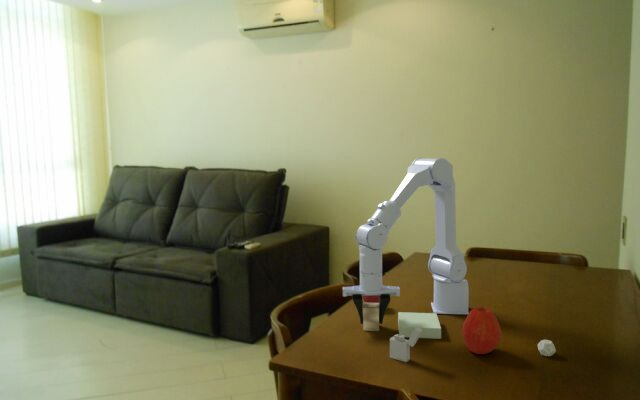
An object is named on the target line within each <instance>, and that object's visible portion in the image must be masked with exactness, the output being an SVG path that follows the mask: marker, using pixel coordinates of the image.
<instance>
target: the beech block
mask: <svg viewBox="0 0 640 400" xmlns="http://www.w3.org/2000/svg"><path fill="white" fill-rule="evenodd" d="M379 308H380V306H379V303H365V302H363V324H362V328H363V329H362V331H365V332H367V331H368V332H369V331H370V332H380V323H379Z"/></svg>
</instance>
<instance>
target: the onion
mask: <svg viewBox="0 0 640 400" xmlns="http://www.w3.org/2000/svg"><path fill="white" fill-rule="evenodd" d="M362 300H363V302H364V303H379V295H370V296H362Z"/></svg>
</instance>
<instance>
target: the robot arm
mask: <svg viewBox="0 0 640 400" xmlns="http://www.w3.org/2000/svg"><path fill="white" fill-rule="evenodd" d="M453 170H454V169H453V164H452V163H451V162H449V161H448V159H446V158H444V157H438V158H423V157H417V158H415V159H414V160H413V161H412V163H411V164H410V165H409V166H408V167H407V172H406V174H405V177H404V178H403V179H402V181H401V183H400V184H399V186H398V187H397V188H396V190H395V192H394V193H393V195H392V196H391V198H390V199H389V200H385V201H382V203H378V205H377V209H376V210H375V212H374V213H373V214H372V215H371V217H370V218H368V219H367V221H366V223H363V224H362V225H360V226H359V227H358V229H357V230H356V234H354V240H355V242H356V244H357V245H358V251H359V285H353V286H342V297H348V296H349V297H350V296H351V297H352V301H353V304H354V305H355V306H354V307H356V310H357V313H358V316H359V322H360V324H362V325H363V304H364V300H363V296H370V295H379V325H382V324H383V321H384V317H385V314H386V311H387V308H388V307H389V304H390V303H391V296H395V297H400V296H401V289H400V286H392V285H383V247H384V246H385V245H386V244H387V240H388V235H389V233H390V230H391V229H392V228H393V226H394V225H395V224H396V222H398V220H399V219H400V217H401V215H402V211H401V208H402V207H403V206H404V205H405V204H406V202H407V201H408V200H409V199H410V198H411V197H412V195H414V193H415V192H416V191H417V190H418V189H419V188H420V187H424V186H428V187H429V188H430V189H432V190H433V191H434V216H435V217H434V218H435V219H434V220H435V222H434V223H435V225H434V226H435V227H434V228H435V245H434V247H432V249H431V250H430V252H429V253H430V254H429V259H428V262H427V268H428V271H429V273H431V276H432V278H433V302H432V301H431V302H430V306H431V308H432V313H436V314H437V315H438V314H441V315H468V314H469V313H470V311H469V301H470V300H469V298H470V297H469V296H470V295H469V293H470V291H469V282H468V280H467V279H464V278H465V276H466V275H467V271H468V270H467V268H468V267H467V266H468V265H467V263H466V261H465V255H464V252H463V251H462V250H461V249H460V248H459V247H458V245H457V228H456V227H457V226H456V225H457V224H456V223H457V220H456V219H457V217H456V209H457V207H456V181H455V178H454V175H453V172H454V171H453Z"/></svg>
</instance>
